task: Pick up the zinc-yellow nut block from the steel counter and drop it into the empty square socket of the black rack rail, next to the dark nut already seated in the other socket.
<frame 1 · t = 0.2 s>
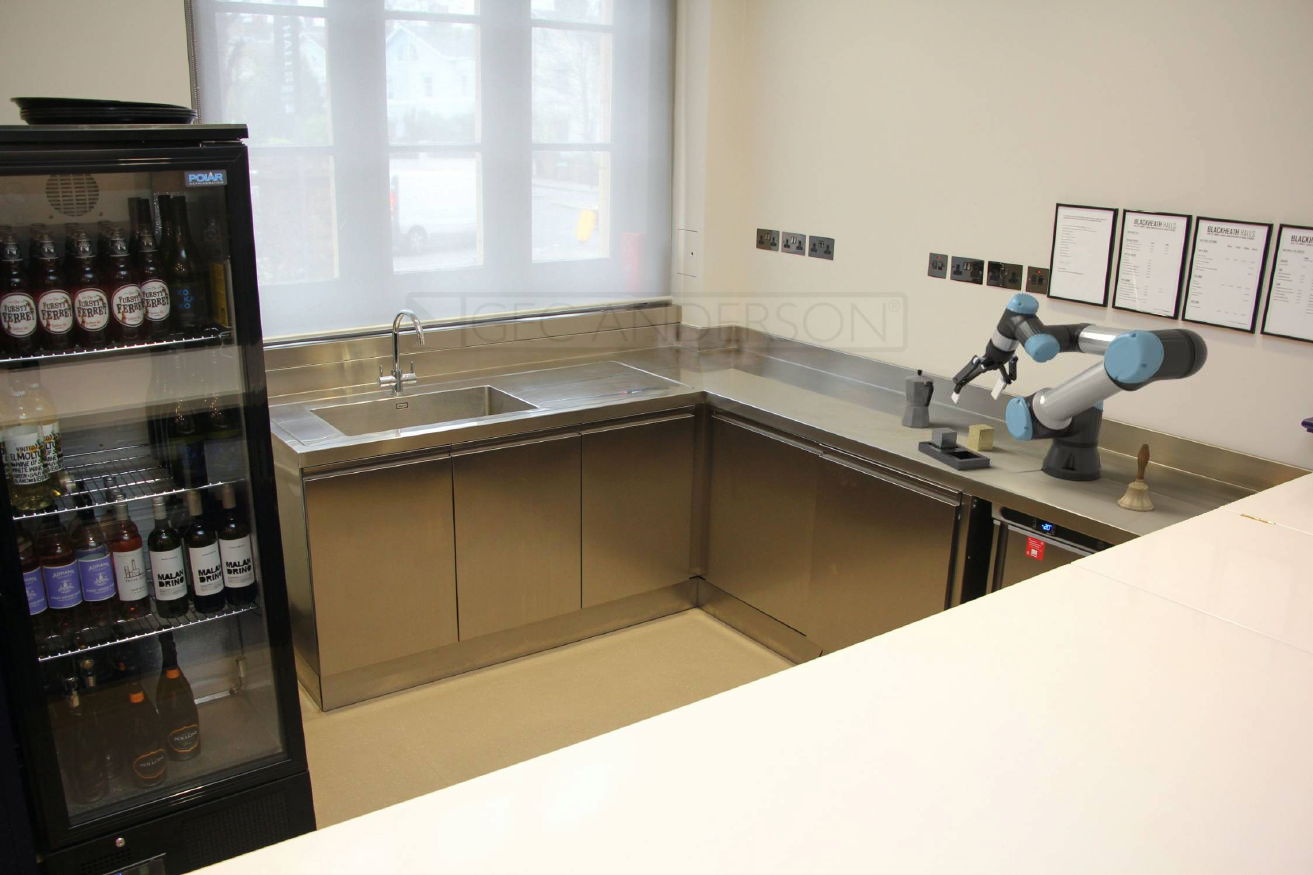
hand: (974, 398, 296), 15 cm above the countertop, tool tilted 30°, fingers open, 13 cm apart
nut block: (979, 449, 298), on the countertop
coffeepot: (916, 426, 324), on the countertop
hand bell: (1135, 506, 253), on the countertop
rack rail: (952, 460, 288), on the countertop
seated nut: (942, 453, 292), resting on rack rail
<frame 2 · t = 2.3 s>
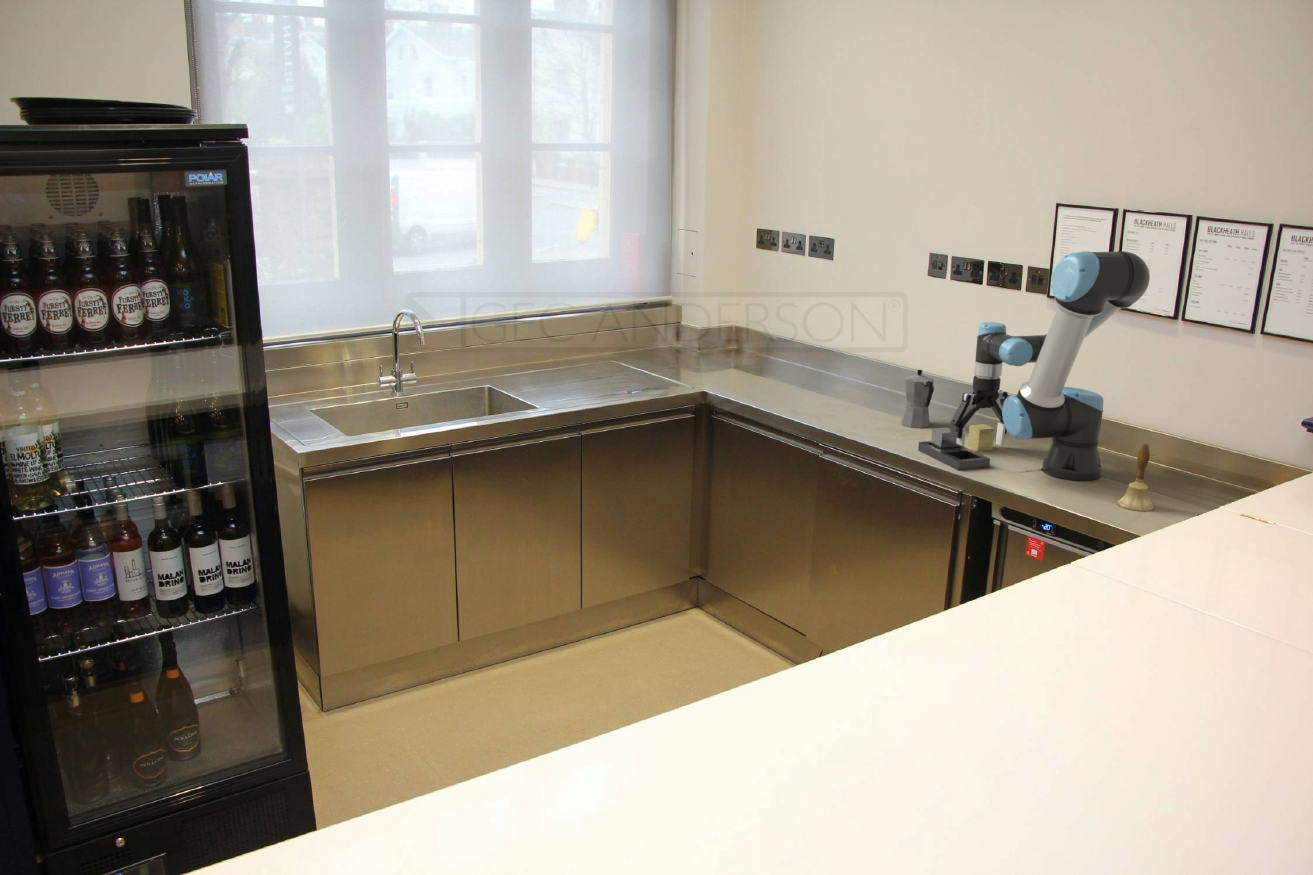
hand: (979, 446, 298), 1 cm above the countertop, tool pointing down, fingers open, 13 cm apart
nothing on the countertop moved.
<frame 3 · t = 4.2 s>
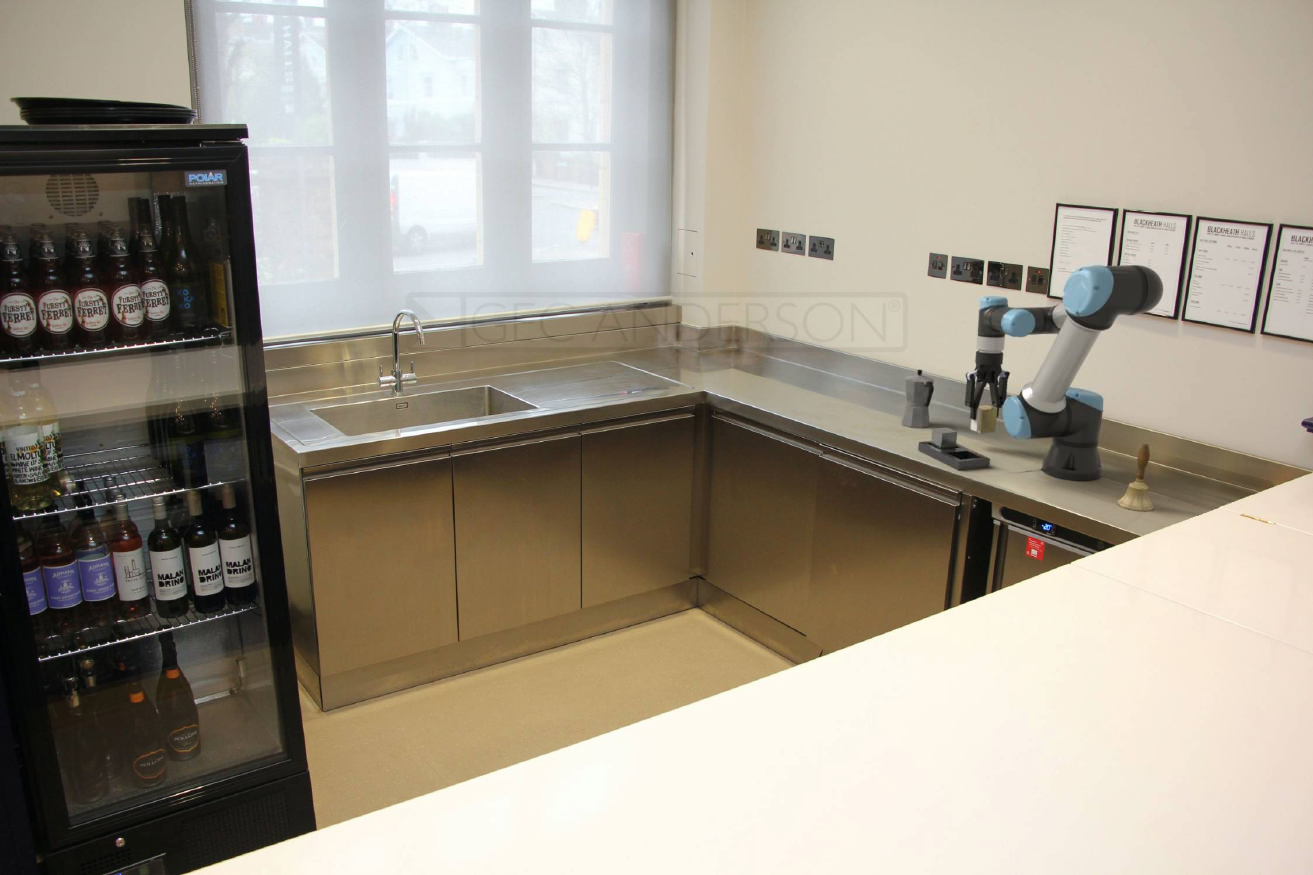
hand: (983, 429, 296), 6 cm above the countertop, tool pointing down, fingers closed on nut block, 5 cm apart
nut block: (982, 430, 296), point 6 cm above the countertop, touching gripper
everything else where it was.
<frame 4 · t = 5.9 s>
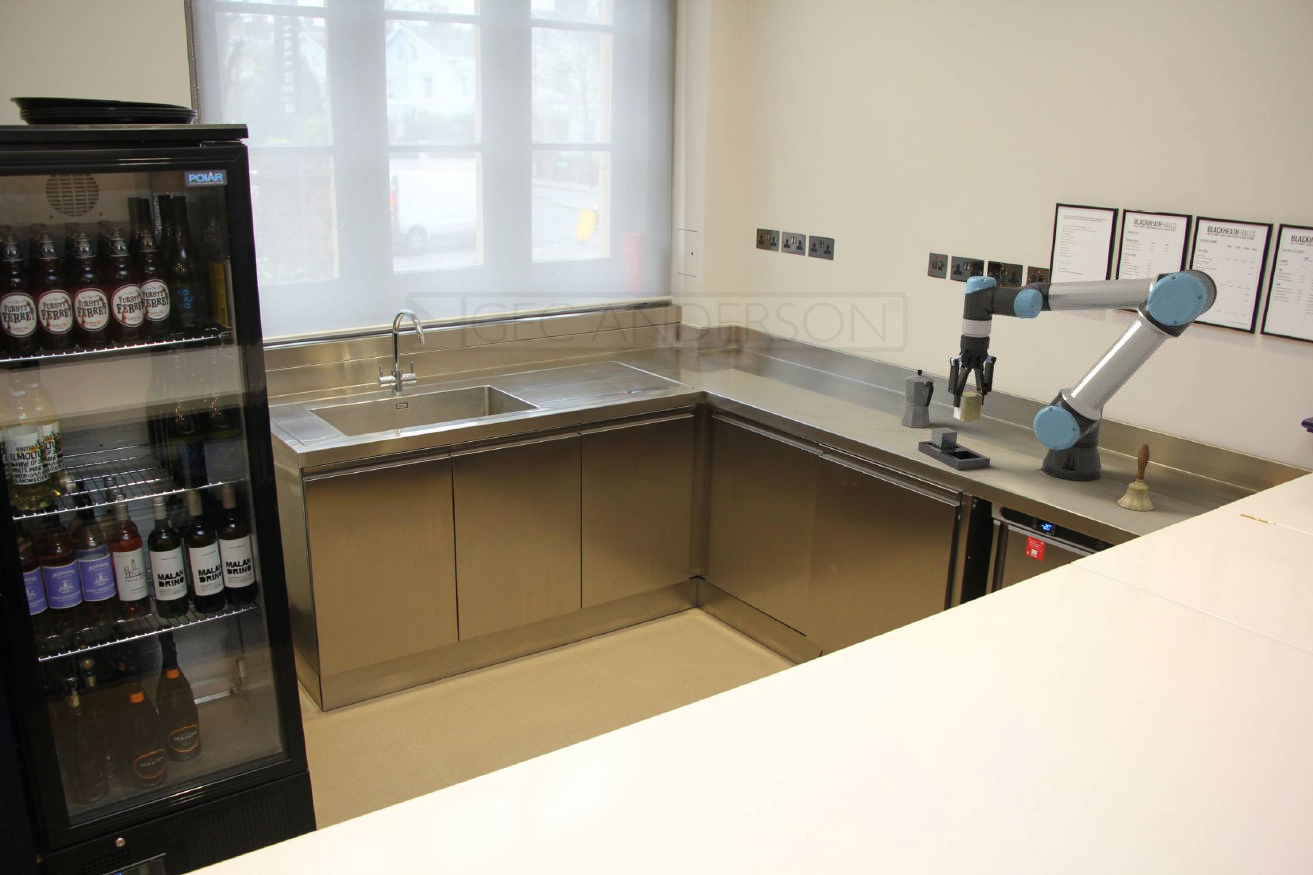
hand: (967, 417, 280), 14 cm above the countertop, tool pointing down, fingers closed on nut block, 5 cm apart
nut block: (966, 418, 280), point 13 cm above the countertop, touching gripper
everything else where it was.
when the fingers open (4 cm above the countertop, at t = 7.5 s): nut block drops 3 cm, resting on rack rail.
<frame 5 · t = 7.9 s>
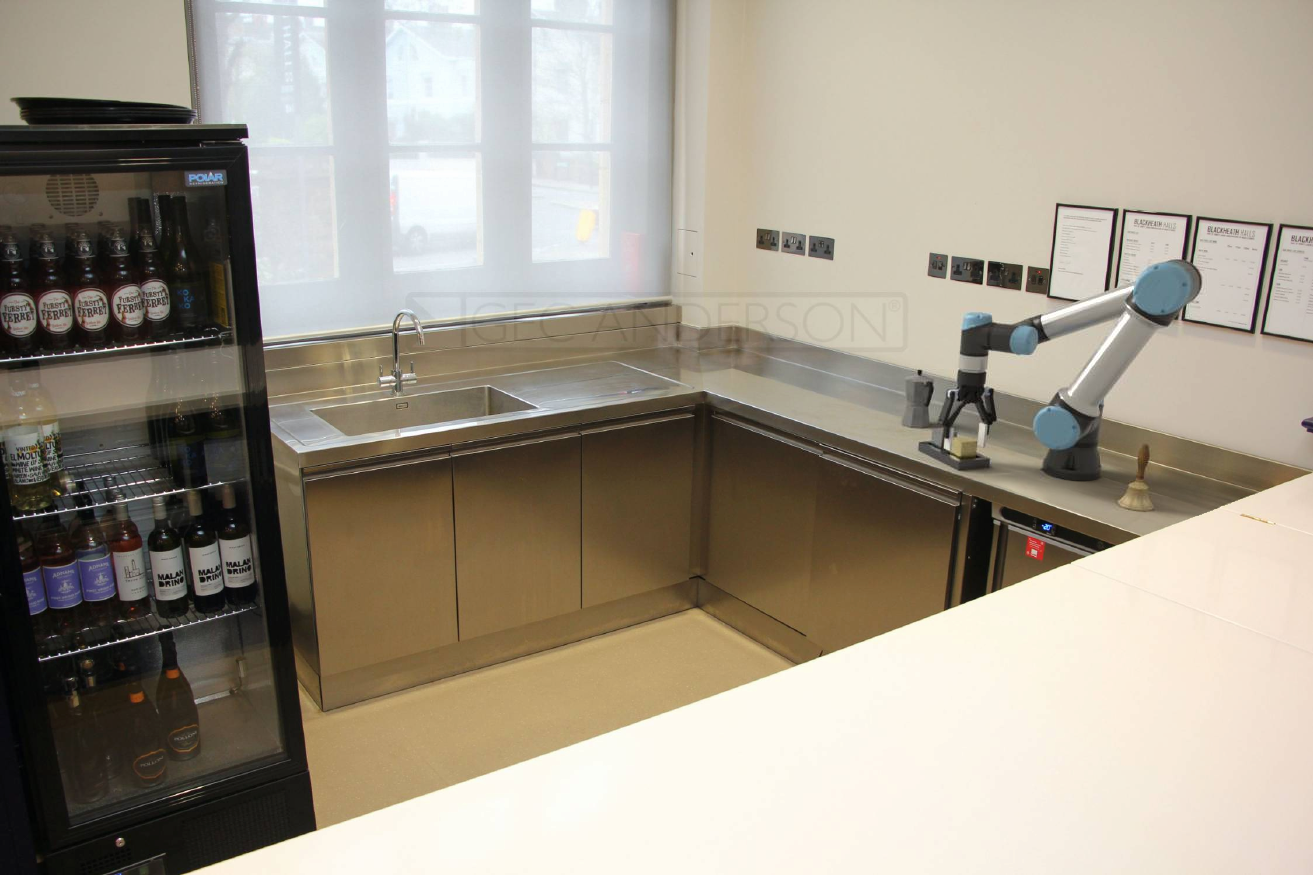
hand: (964, 447, 282), 5 cm above the countertop, tool pointing down, fingers open, 10 cm apart
nut block: (962, 463, 283), resting on rack rail
everything else where it was.
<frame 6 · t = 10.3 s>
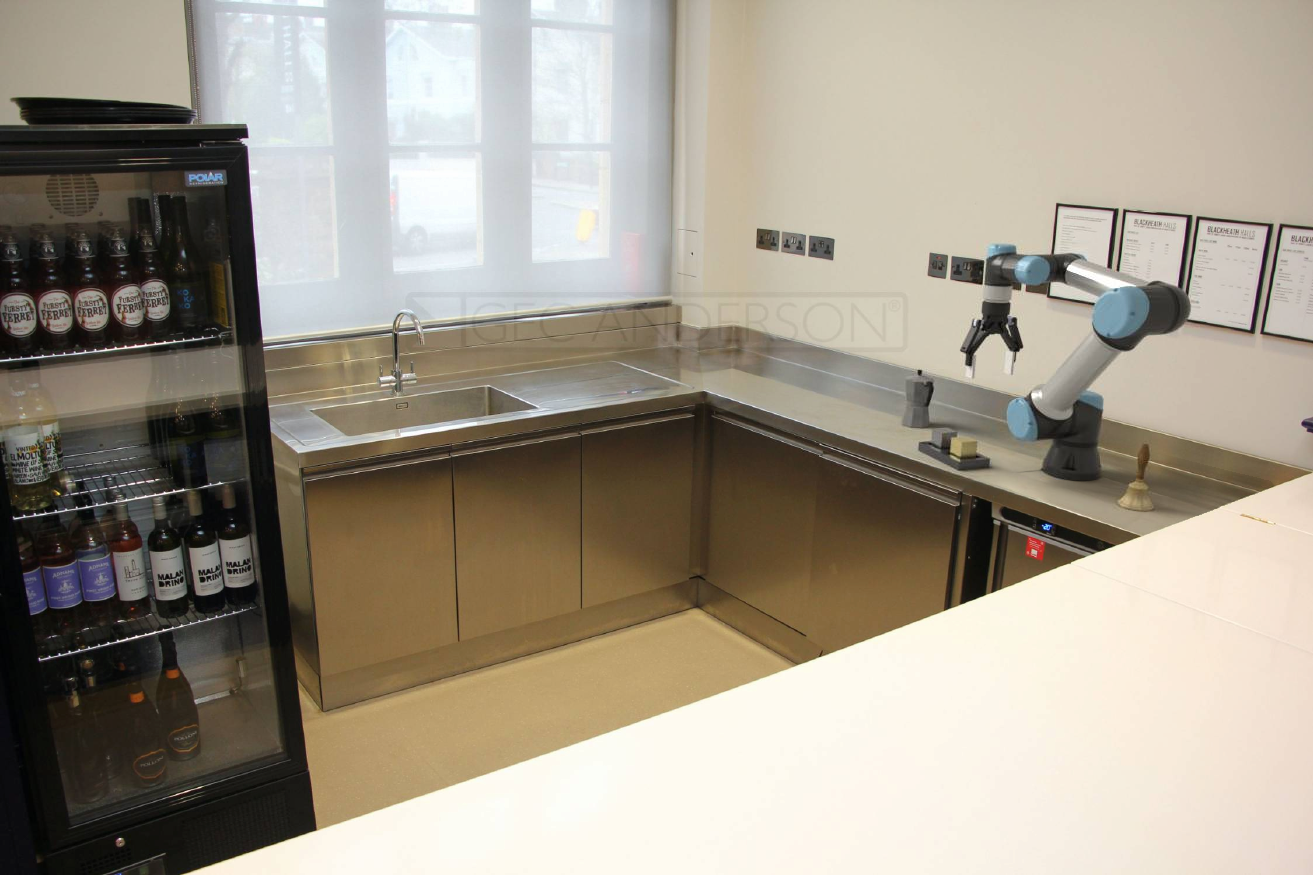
hand: (989, 375, 286), 23 cm above the countertop, tool pointing down, fingers open, 13 cm apart
nothing on the countertop moved.
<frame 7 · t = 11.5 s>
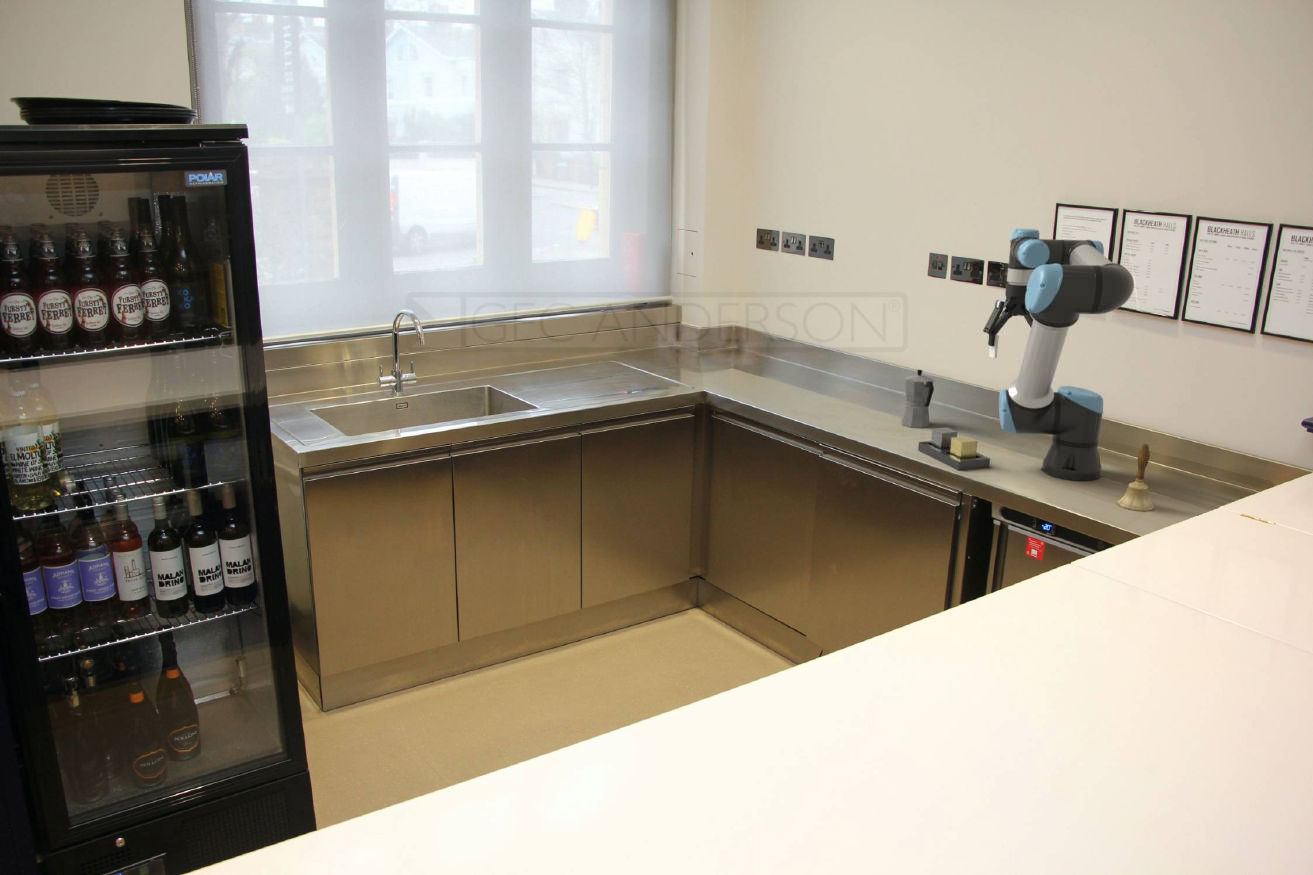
hand: (1012, 355, 298), 27 cm above the countertop, tool pointing down, fingers open, 13 cm apart
nothing on the countertop moved.
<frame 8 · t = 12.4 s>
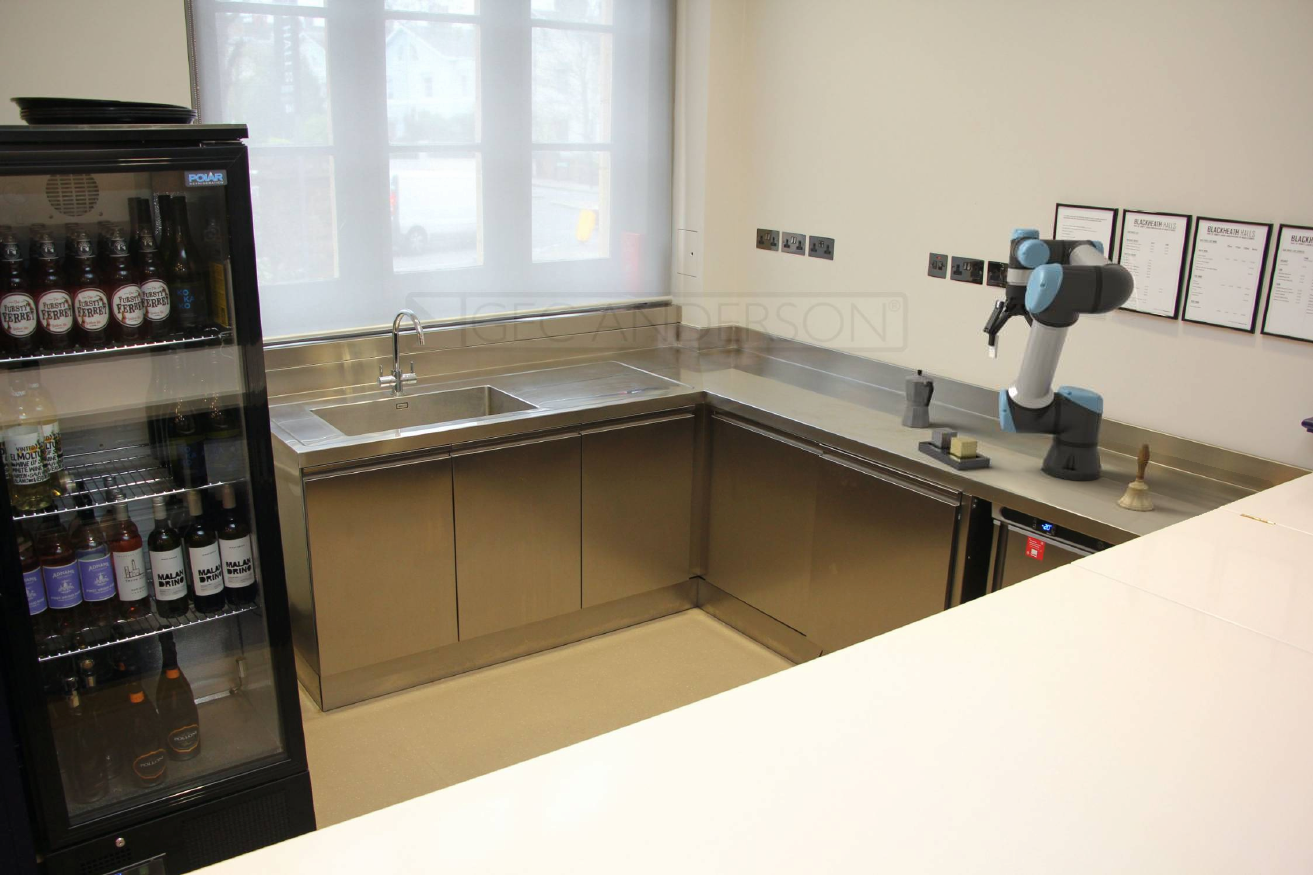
hand: (1012, 355, 298), 27 cm above the countertop, tool pointing down, fingers open, 13 cm apart
nothing on the countertop moved.
at the end: nut block 0.3 cm from the target spot on the rack rail, point 0.5 cm above the rack rail's base; nut block tilted 0°; the gripper is holding nothing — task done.
